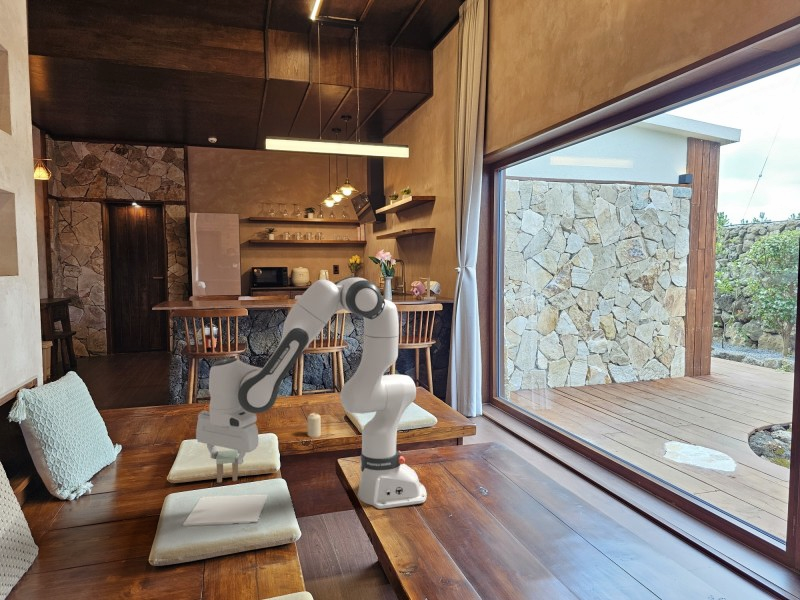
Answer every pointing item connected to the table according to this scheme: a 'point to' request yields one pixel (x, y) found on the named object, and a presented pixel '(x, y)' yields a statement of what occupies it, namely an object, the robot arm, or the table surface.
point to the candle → (314, 425)
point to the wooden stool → (226, 458)
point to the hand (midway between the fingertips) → (226, 460)
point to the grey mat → (226, 510)
